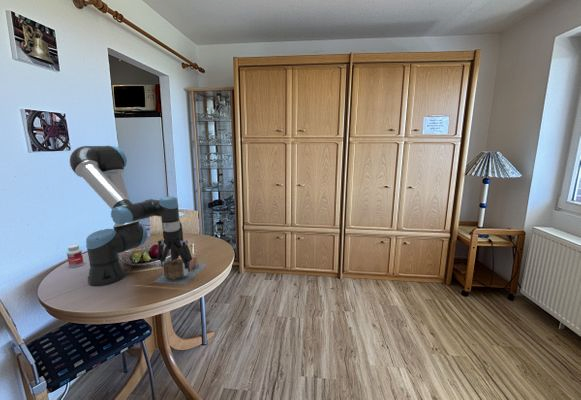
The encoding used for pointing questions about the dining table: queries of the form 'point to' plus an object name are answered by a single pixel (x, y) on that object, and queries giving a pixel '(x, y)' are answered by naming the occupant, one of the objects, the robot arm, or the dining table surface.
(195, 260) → the gear
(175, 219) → the robot arm
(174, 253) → the wine bottle
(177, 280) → the gear board
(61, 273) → the dining table surface
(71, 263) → the pill bottle
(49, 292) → the dining table surface
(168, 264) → the gear
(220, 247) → the dining table surface
